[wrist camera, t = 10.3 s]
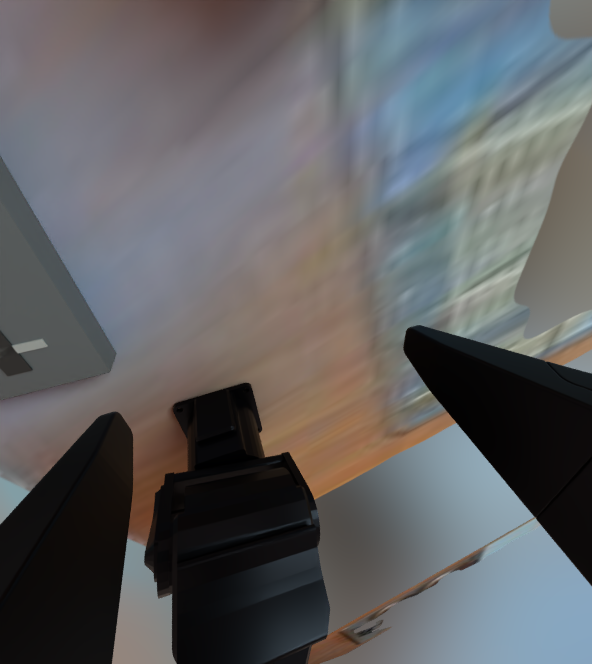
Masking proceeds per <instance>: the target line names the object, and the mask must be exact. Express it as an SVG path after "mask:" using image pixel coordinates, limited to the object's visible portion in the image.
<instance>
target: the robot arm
mask: <svg viewBox="0 0 592 664" xmlns="http://www.w3.org/2000/svg"><path fill="white" fill-rule="evenodd" d="M403 348H404V353H405V355H406V356H407V358H408V359H409V361H410V362H411V364H412V365H413V367H414V368H415V370H416V371H417V373H418V374H419V376H420V377H421V379H422V380H423V382H424V383H425V384H426V386H427V387H428V389H429V390H430V391H431V393H432V394H433V395H434V396H435V397H436V399H437V400H438V401H439V402H440V404H441V405H442V406H443V407H444V408H445V410H446V411H447V412H448V413H449V414H450V416H451V417H452V418H453V419H454V420H455V422H456V423H457V424H458V425H459V426H460V428H461V429H462V430H463V431H464V432H465V433H466V435H467V436H468V437H469V438H470V439H471V441H472V442H473V443H474V444H475V446H476V447H477V448H478V449H479V450H480V452H481V453H482V454H483V455H484V457H485V458H486V459H487V460H488V461H489V463H490V464H491V465H492V466H493V467H494V468H495V470H496V471H497V472H498V473H499V474H500V476H501V477H502V478H503V479H504V480H505V482H506V483H507V484H508V485H509V487H510V488H511V489H512V490H513V491H514V493H515V494H516V495H517V496H518V497H519V499H520V500H521V501H522V502H523V504H524V505H525V506H526V507H527V508H528V510H529V511H530V512H531V513H532V514H533V516H534V517H536V519H537V521H538V522H539V523H540V524H541V525H542V527H543V528H544V529H545V530H546V531H547V533H548V534H549V535H550V536H551V537H552V539H553V540H554V541H555V542H556V544H557V545H558V546H559V547H560V548H561V549H562V551H563V552H564V553H565V554H566V556H567V557H568V558H569V559H570V560H571V562H572V563H573V564H574V565H575V567H576V568H577V569H578V570H579V571H580V573H581V574H582V575H583V576H584V577H585V578H586V580H587V581H588V582H589V583H590V585H591V586H592V374H591V373H587V372H583V371H580V370H576V369H572V368H569V367H565V366H562V365H558V364H555V363H551V362H545V361H544V360H540V359H537V358H533V357H530V356H526V355H523V354H519V353H516V352H512V351H509V350H505V349H502V348H498V347H495V346H491V345H488V344H484V343H481V342H477V341H474V340H470V339H467V338H463V337H460V336H456V335H452V334H449V333H445V332H442V331H438V330H435V329H431V328H428V327H424V326H421V325H417V326H413V327H410V328H408V329H407V330H406V334H405V340H404V347H403ZM245 388H248V389H245ZM178 408H181V409H178ZM173 412H174V414H175V416H176V418H177V420H178V422H179V424H180V426H181V428H182V430H183V431H184V433H185V435H186V437H187V439H188V471H187V472H182V473H176V474H174V473H168V474H165V481H164V485H163V486H161V489H160V490H159V491H158V492H156V493H155V503H154V514H153V520H152V525H151V529H150V533H149V538H148V542H147V546H146V551H145V559H144V560H145V561H144V563H145V565H146V566H147V567H148V568H149V569H150V570H151V571H152V572H153V573H154V581H155V582H157V592H158V598H162V597H165V596H168V595H170V594H172V653H173V657H174V659H175V661H176V663H177V664H308V659H309V655H310V651H311V647H312V645H313V644H316V643H318V642H320V641H322V640H324V639H326V637H327V633H328V624H329V614H330V606H329V602H328V598H327V594H326V589H325V585H324V580H323V576H322V571H321V566H320V560H319V554H318V547H317V546H318V544H319V541H320V525H319V517H318V513H317V508H316V504H315V501H314V498H313V495H312V493H311V491H310V489H309V487H308V485H307V483H306V482H305V480H304V478H303V476H302V475H301V473H300V471H299V469H298V468H297V466H296V464H295V462H294V460H293V459H292V457H291V455H290V453H289V452H285V453H281V455H275V456H270V457H265V455H264V451H263V447H262V444H261V440H260V436H259V433H260V432H261V431H262V426H261V422H260V418H259V414H258V410H257V406H256V402H255V398H254V394H253V390H252V387H251V384H249V383H243V384H240V385H236V386H233V387H229V388H226V389H223V390H219V391H216V392H212V393H209V394H205V395H202V396H199V397H195V398H192V399H188V400H185V401H182V402H178V403H176V404H175V405H174V406H173ZM132 493H133V434H132V431H131V429H130V428H129V426H128V425H127V423H126V422H125V420H124V419H123V417H122V416H121V414H120V413H118V412H111V413H108V414H104V415H101V416H99V417H98V418H97V419H96V420H95V421H94V422H93V424H92V425H91V426H90V427H89V428H88V429H87V430H86V431H85V432H84V433H83V434H82V436H81V437H80V438H79V439H78V440H77V441H76V442H75V443H74V444H73V445H72V447H71V448H70V449H69V450H68V451H67V452H66V453H65V454H64V455H63V456H62V458H61V459H60V460H59V461H58V462H57V463H56V464H55V465H54V466H53V467H52V468H51V470H50V471H49V472H48V473H47V474H46V475H45V476H44V477H43V478H42V479H41V481H40V482H39V483H38V484H37V485H36V486H35V487H34V488H33V489H32V490H31V492H30V493H29V494H28V495H27V496H26V497H25V498H24V499H23V500H22V501H21V502H20V504H19V505H18V506H17V507H16V508H15V509H14V510H13V511H12V513H10V515H9V516H8V517H7V518H6V519H5V520H4V521H3V522H2V523H1V524H0V664H112V657H113V649H114V641H115V633H116V625H117V617H118V609H119V601H120V593H121V584H122V575H123V568H124V560H125V552H126V543H127V536H128V528H129V519H130V511H131V503H132Z"/></svg>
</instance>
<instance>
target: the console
mask: <svg viewBox="0 0 592 664" xmlns="http://www.w3.org/2000/svg"><path fill="white" fill-rule="evenodd" d="M115 356H116V352H115V350H114V349H113V347H112V345H111V344H110V342H109V340H108V339H107V337H106V335H105V333H104V332H103V330H102V328H101V327H100V325H99V323H98V322H97V320H96V318H95V316H94V315H93V313H92V311H91V310H90V308H89V306H88V305H87V303H86V301H85V299H84V298H83V296H82V294H81V293H80V291H79V289H78V287H77V286H76V284H75V282H74V281H73V279H72V277H71V276H70V274H69V272H68V270H67V269H66V267H65V265H64V264H63V262H62V260H61V259H60V257H59V255H58V253H57V252H56V250H55V248H54V247H53V245H52V243H51V242H50V240H49V238H48V236H47V235H46V233H45V231H44V230H43V228H42V226H41V225H40V223H39V221H38V219H37V218H36V216H35V214H34V213H33V211H32V209H31V208H30V206H29V204H28V202H27V201H26V199H25V197H24V196H23V194H22V192H21V190H20V189H19V187H18V185H17V184H16V182H15V180H14V179H13V177H12V175H11V173H10V172H9V170H8V168H7V167H6V165H5V163H4V162H3V160H2V158H1V156H0V400H4V399H7V398H11V397H15V396H19V395H23V394H27V393H31V392H35V391H39V390H42V389H46V388H50V387H54V386H58V385H62V384H66V383H70V382H74V381H78V380H81V379H85V378H89V377H93V376H97V375H101V374H105V373H109V372H110V371H111V368H112V365H113V362H114V359H115Z"/></svg>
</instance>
